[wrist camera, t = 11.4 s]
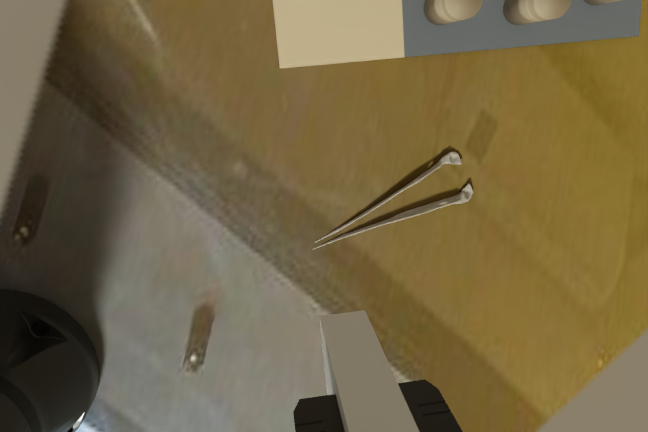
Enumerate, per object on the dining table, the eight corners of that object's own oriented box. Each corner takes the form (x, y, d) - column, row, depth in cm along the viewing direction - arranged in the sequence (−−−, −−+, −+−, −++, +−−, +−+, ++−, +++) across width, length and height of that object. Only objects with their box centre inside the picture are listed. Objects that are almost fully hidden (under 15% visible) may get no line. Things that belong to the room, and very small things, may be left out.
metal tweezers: (453, 146, 48) (460, 150, 46) (472, 193, 49) (479, 199, 47) (272, 231, 49) (272, 238, 47) (296, 275, 51) (296, 284, 49)
